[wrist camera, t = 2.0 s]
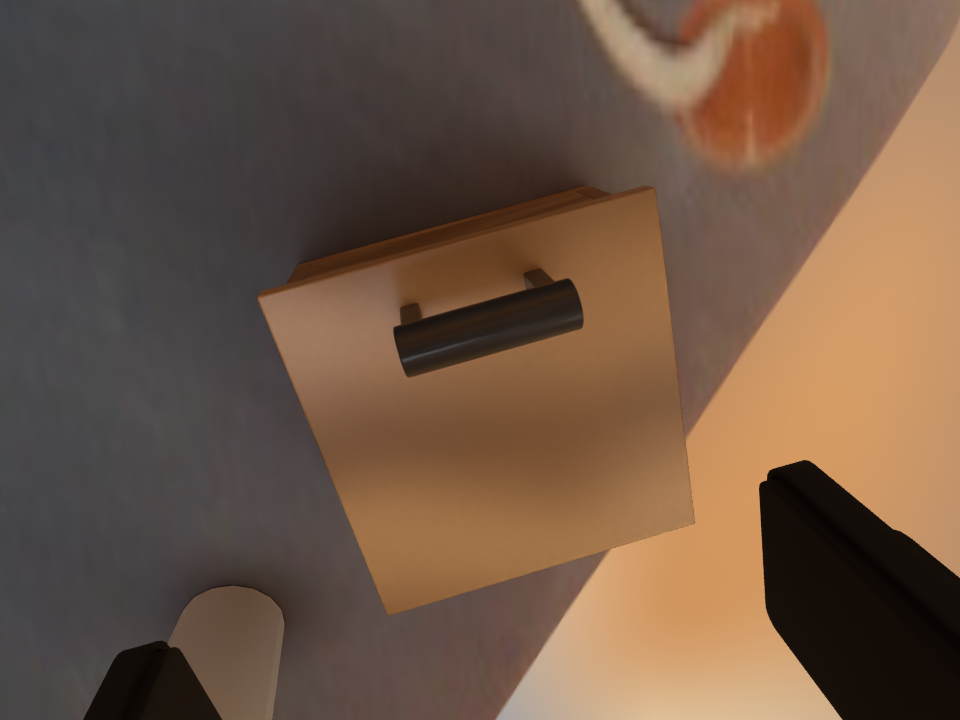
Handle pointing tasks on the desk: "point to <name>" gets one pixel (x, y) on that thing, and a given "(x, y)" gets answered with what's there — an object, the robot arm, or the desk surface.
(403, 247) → the box
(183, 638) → the white tumbler
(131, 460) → the desk surface
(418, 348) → the lid
